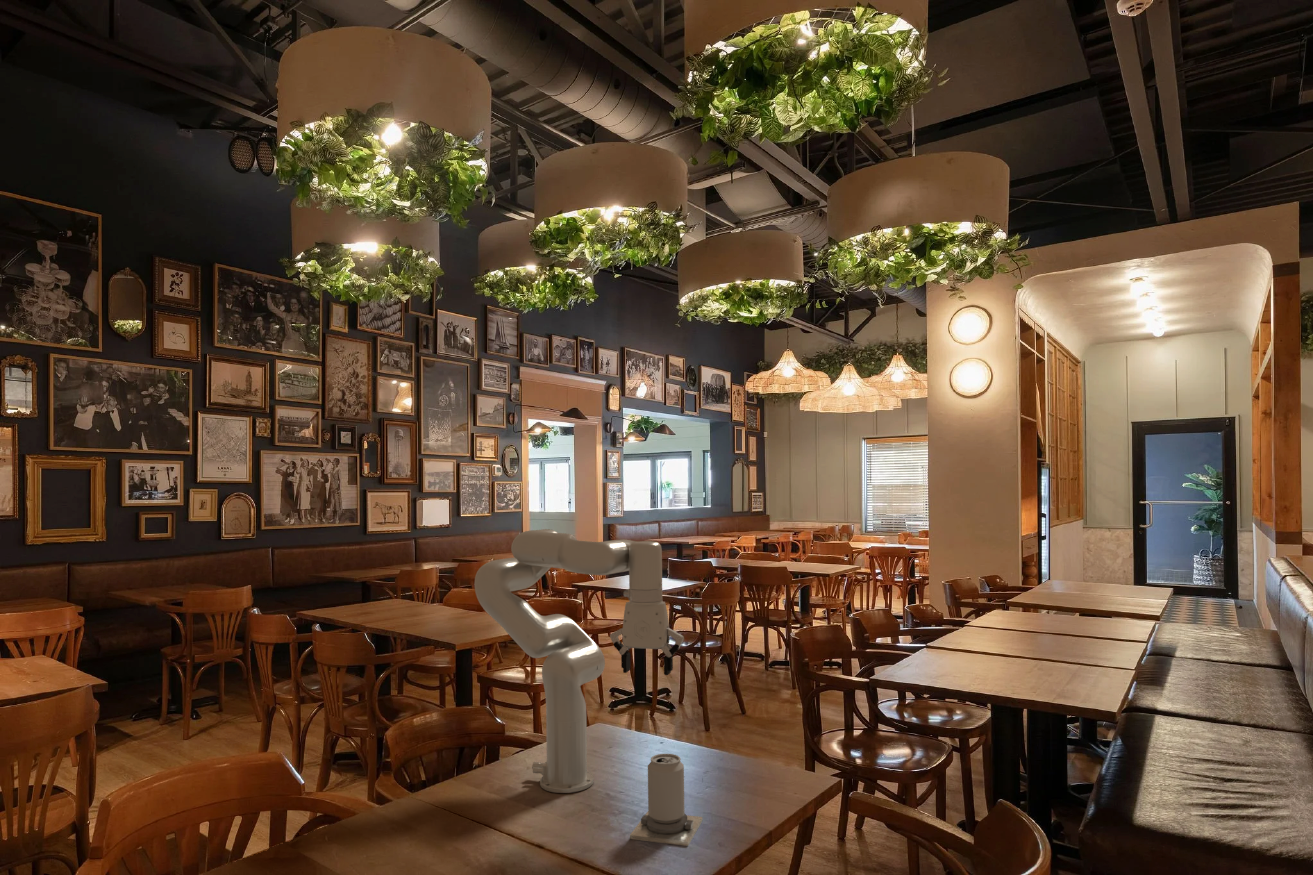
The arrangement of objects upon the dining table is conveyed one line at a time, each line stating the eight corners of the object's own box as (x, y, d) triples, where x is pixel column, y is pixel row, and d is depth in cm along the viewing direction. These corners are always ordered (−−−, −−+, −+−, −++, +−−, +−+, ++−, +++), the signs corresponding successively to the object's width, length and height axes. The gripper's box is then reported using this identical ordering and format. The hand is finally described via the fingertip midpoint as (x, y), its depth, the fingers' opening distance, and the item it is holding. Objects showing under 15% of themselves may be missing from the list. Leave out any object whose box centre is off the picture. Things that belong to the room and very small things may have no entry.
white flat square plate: (630, 838, 158) (629, 826, 158) (648, 814, 169) (647, 803, 169) (688, 846, 154) (687, 833, 154) (702, 820, 166) (702, 809, 166)
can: (657, 807, 167) (656, 749, 168) (690, 813, 164) (689, 754, 164) (642, 821, 160) (641, 760, 161) (675, 827, 157) (674, 765, 158)
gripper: (604, 597, 178) (605, 674, 177) (678, 599, 173) (679, 678, 172) (615, 593, 185) (616, 667, 184) (686, 594, 180) (688, 671, 179)
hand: (647, 672), depth 178 cm, fingers open, 9 cm apart
